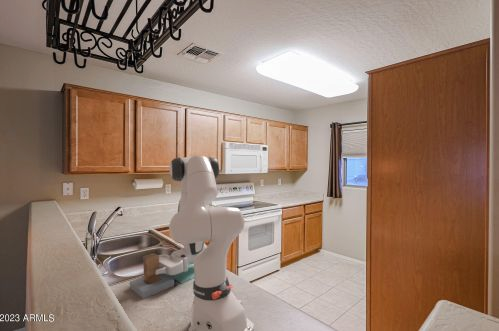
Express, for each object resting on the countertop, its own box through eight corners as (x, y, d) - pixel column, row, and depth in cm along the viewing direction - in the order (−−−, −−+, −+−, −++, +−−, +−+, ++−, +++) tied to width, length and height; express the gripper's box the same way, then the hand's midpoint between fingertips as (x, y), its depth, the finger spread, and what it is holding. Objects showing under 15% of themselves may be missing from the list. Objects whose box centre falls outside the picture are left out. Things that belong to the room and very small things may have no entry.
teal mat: (206, 272, 120) (206, 271, 120) (181, 283, 110) (181, 282, 110) (188, 264, 131) (188, 263, 131) (164, 273, 121) (164, 273, 121)
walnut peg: (160, 286, 108) (158, 255, 108) (149, 290, 105) (147, 259, 105) (155, 282, 112) (153, 253, 112) (144, 287, 108) (143, 256, 108)
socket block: (174, 285, 109) (174, 278, 109) (143, 299, 98) (142, 291, 98) (159, 276, 118) (159, 270, 118) (130, 288, 108) (129, 281, 108)
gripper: (167, 249, 125) (140, 257, 115) (188, 258, 111) (160, 268, 101) (167, 261, 125) (140, 270, 115) (189, 271, 111) (161, 283, 101)
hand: (150, 269), depth 108 cm, fingers open, 8 cm apart
